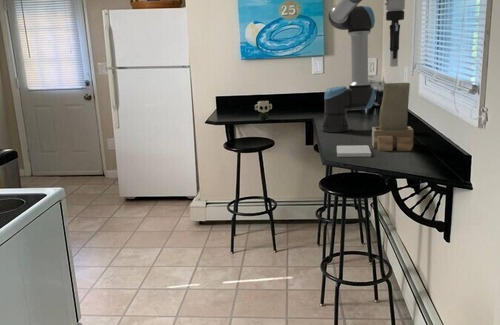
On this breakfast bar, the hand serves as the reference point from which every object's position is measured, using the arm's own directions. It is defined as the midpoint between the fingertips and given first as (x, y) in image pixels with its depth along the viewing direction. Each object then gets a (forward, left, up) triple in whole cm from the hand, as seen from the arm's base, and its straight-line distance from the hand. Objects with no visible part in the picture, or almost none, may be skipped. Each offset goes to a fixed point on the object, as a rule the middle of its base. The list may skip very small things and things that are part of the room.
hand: (393, 66), depth 210 cm
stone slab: (0, 0, -36) cm, 36 cm away
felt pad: (+14, -18, -36) cm, 43 cm away
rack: (0, 0, -36) cm, 36 cm away
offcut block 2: (+9, +4, -36) cm, 37 cm away
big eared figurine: (-80, -70, -36) cm, 112 cm away
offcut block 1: (+9, -4, -36) cm, 37 cm away
